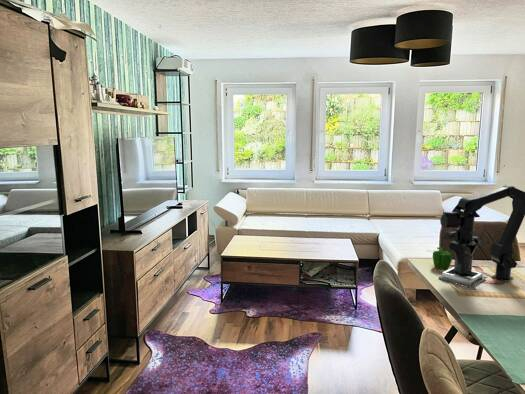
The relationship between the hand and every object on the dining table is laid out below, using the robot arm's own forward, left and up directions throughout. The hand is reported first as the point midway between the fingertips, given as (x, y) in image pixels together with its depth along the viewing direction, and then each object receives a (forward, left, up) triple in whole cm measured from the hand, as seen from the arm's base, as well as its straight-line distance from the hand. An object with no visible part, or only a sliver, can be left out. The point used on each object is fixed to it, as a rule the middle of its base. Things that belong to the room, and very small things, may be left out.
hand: (463, 262), depth 174 cm
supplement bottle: (0, 0, -6) cm, 6 cm away
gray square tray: (0, 0, -8) cm, 8 cm away
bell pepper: (-8, -13, -8) cm, 17 cm away
